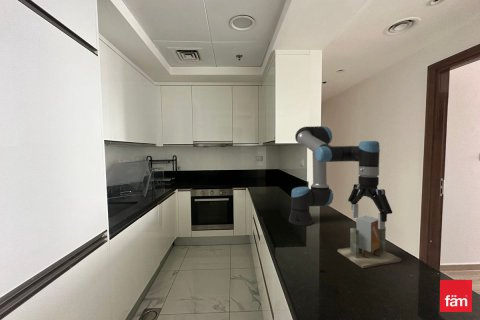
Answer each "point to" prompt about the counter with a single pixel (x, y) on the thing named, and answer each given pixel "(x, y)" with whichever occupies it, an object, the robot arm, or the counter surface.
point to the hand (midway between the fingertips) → (367, 222)
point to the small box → (368, 233)
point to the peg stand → (366, 257)
